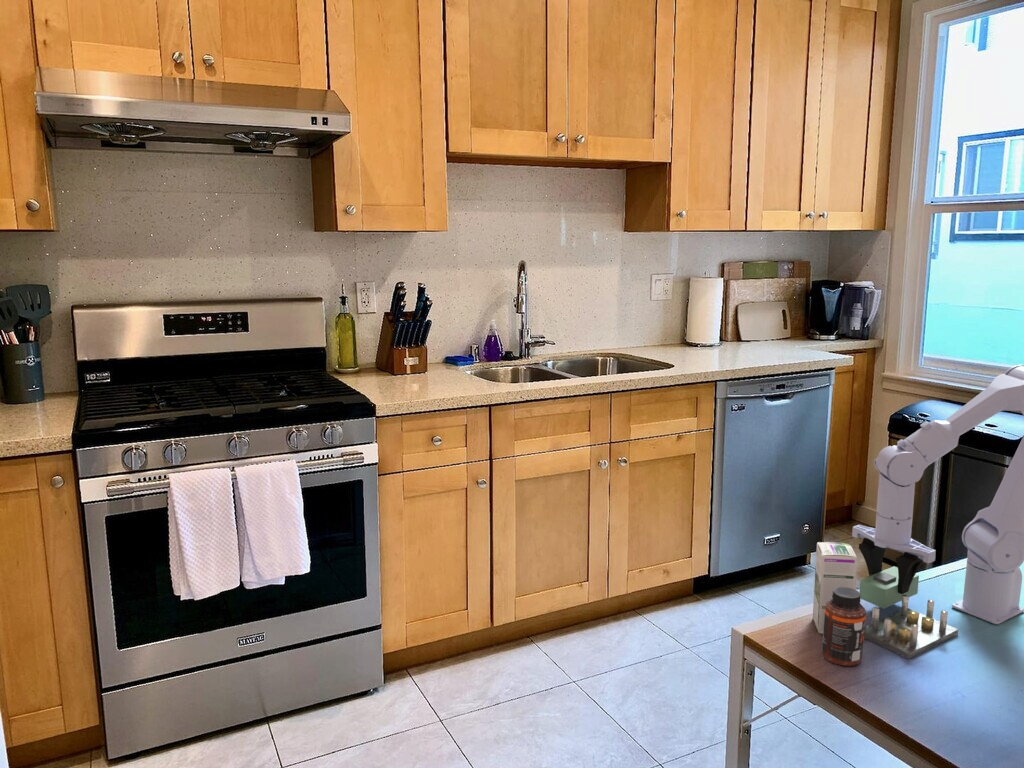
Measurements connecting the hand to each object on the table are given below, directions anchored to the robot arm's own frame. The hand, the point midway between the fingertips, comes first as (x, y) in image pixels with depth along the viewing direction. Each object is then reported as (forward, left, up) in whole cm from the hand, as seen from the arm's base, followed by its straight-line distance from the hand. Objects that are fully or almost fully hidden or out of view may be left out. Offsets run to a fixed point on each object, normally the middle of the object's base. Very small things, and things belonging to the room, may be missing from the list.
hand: (888, 586), depth 139 cm
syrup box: (+14, -1, -5) cm, 15 cm away
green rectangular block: (0, 0, -2) cm, 2 cm away
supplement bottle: (+21, +6, -5) cm, 22 cm away
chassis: (+6, +7, -4) cm, 10 cm away
